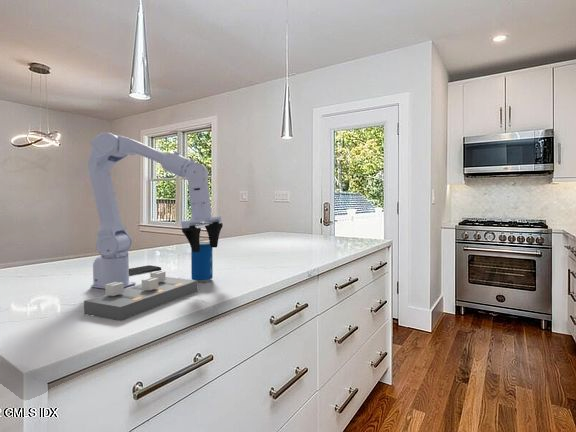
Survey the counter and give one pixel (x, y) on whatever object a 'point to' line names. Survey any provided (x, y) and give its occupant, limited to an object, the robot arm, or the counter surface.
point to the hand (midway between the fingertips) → (205, 249)
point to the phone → (143, 270)
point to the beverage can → (202, 263)
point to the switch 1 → (114, 288)
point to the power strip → (139, 299)
